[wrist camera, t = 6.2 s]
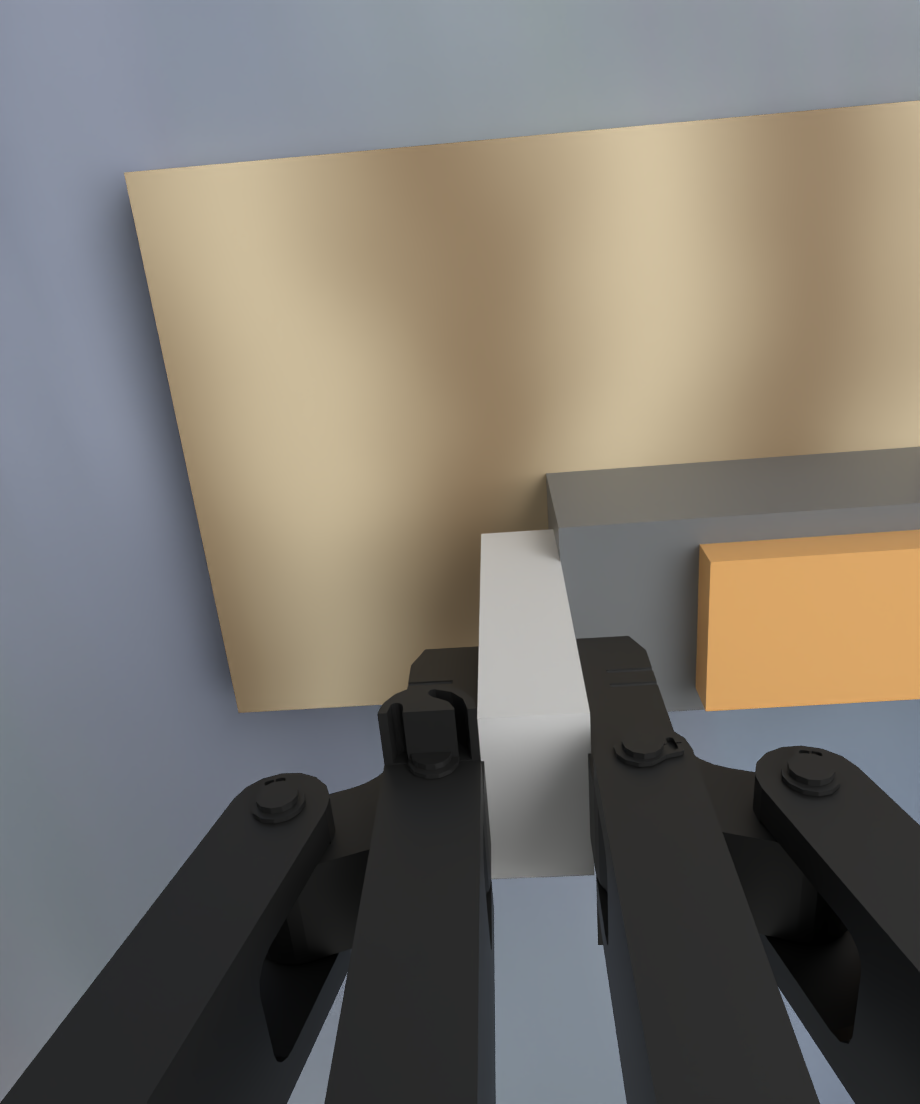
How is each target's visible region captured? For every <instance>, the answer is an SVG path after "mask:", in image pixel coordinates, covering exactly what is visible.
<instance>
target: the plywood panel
mask: <svg viewBox="0 0 920 1104" xmlns="http://www.w3.org/2000/svg"><path fill="white" fill-rule="evenodd" d="M124 175H125V180H126V184H127V189H128V194H129V198H130V203H131V208H132V213H133V217H134V222H135V227H136V231H137V236H138V241H139V246H140V250H141V255H142V260H143V264H144V269H145V274H146V279H147V283H148V288H149V293H150V297H151V302H152V307H153V312H154V316H155V321H156V326H157V330H158V335H159V340H160V344H161V349H162V354H163V359H164V363H165V368H166V373H167V377H168V382H169V387H170V392H171V396H172V401H173V406H174V410H175V415H176V420H177V425H178V429H179V434H180V439H181V443H182V448H183V453H184V458H185V462H186V467H187V472H188V476H189V481H190V486H191V490H192V495H193V500H194V505H195V509H196V514H197V519H198V523H199V528H200V533H201V538H202V542H203V547H204V552H205V556H206V561H207V566H208V571H209V575H210V580H211V585H212V589H213V594H214V599H215V604H216V608H217V613H218V618H219V622H220V627H221V632H222V636H223V641H224V646H225V651H226V655H227V660H228V665H229V669H230V674H231V679H232V684H233V688H234V693H235V698H236V702H237V707H238V712H239V713H244V712H262V711H279V710H296V709H314V708H331V707H348V706H366V705H383V703H384V702H385V701H387V700H388V699H389V698H391V697H392V696H393V695H395V694H396V693H399V692H401V691H404V690H407V687H408V680H409V674H410V668H411V665H412V664H413V662H414V661H415V660H416V659H417V658H418V657H419V656H420V655H421V654H422V652H423V651H424V650H425V649H440V648H458V647H475V646H479V614H480V568H481V534H486V533H502V532H517V531H533V530H549V529H548V506H547V484H546V473H558V472H572V471H586V470H600V469H614V468H628V467H642V466H656V465H670V464H684V463H698V462H712V461H726V460H740V459H754V458H768V457H781V456H795V455H809V454H823V453H837V452H851V451H865V450H879V449H893V448H907V447H920V101H909V102H898V103H887V104H875V105H864V106H853V107H842V108H831V109H820V110H809V111H798V112H787V113H776V114H765V115H754V116H743V117H732V118H721V119H710V120H699V121H688V122H677V123H666V124H655V125H644V126H633V127H622V128H611V129H600V130H589V131H578V132H567V133H556V134H545V135H534V136H523V137H512V138H501V139H490V140H479V141H468V142H457V143H446V144H435V145H424V146H413V147H402V148H391V149H380V150H369V151H358V152H347V153H336V154H325V155H314V156H303V157H292V158H281V159H270V160H259V161H248V162H237V163H225V164H214V165H203V166H192V167H181V168H170V169H159V170H148V171H137V172H126V173H124Z"/></svg>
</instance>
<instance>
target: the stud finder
mask: <svg viewBox="0 0 920 1104" xmlns="http://www.w3.org/2000/svg"><path fill="white" fill-rule="evenodd" d="M546 484H547V506H548V529H553V531H554V536H555V540H556V545H557V549H558V554H559V559H560V561H561V566H562V571H563V576H564V582H565V587H566V592H567V597H568V602H569V607H570V612H571V618H572V623H573V628H574V633H575V638H576V639H580V638H598V637H615V636H630V637H631V638H632V639H633V640H634V641H636V642H637V643H638V644H639V645H641V646H642V647H643V648H644V649H645V650H646V651H647V654H648V657H649V660H650V663H651V666H652V671H653V672H654V675H655V678H656V681H657V685H658V686H659V689H660V692H661V695H662V698H663V701H664V704H665V707H666V710H667V712H669V711H687V710H704V709H705V711H718V710H736V709H753V708H771V707H788V706H806V705H823V704H841V703H858V702H876V701H893V700H911V699H920V447H907V448H893V449H879V450H865V451H851V452H837V453H823V454H809V455H795V456H781V457H768V458H754V459H740V460H726V461H712V462H698V463H684V464H670V465H656V466H642V467H628V468H614V469H600V470H586V471H572V472H558V473H546Z"/></svg>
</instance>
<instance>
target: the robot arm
mask: <svg viewBox="0 0 920 1104" xmlns="http://www.w3.org/2000/svg"><path fill="white" fill-rule="evenodd" d="M378 721H379V728H380V735H381V742H382V750H383V757H384V764H385V765H384V771H383V773H382V774H380V775H379V776H378V777H376V778H374V779H373V780H371V781H369V782H367V783H365V784H362V785H360V786H357V787H354V788H351V789H347V790H344V791H340V792H336V793H332V794H329V793H328V790H327V786H326V785H325V784H324V783H322V782H321V781H320V780H319V779H317V778H316V777H313V776H309V775H306V774H302V773H284V774H279V775H275V776H271V777H267V778H263V779H261V780H259V781H258V782H256V783H254V784H252V785H250V786H248V787H246V788H245V789H244V790H243V791H242V792H241V793H240V794H239V795H238V796H236V797H235V798H234V799H233V801H232V802H231V803H230V805H229V806H228V807H227V808H226V810H225V811H224V812H223V814H222V815H221V816H220V818H219V819H218V820H217V822H216V823H215V824H214V825H213V827H212V828H211V829H210V831H209V832H208V833H207V835H206V836H205V837H204V838H203V840H202V841H201V842H200V844H199V845H198V846H197V848H196V849H195V850H194V851H193V853H192V854H191V855H190V857H189V858H188V859H187V861H186V862H185V863H184V864H183V866H182V867H181V868H180V870H179V871H178V872H177V874H176V875H175V876H174V877H173V879H172V880H171V881H170V883H169V884H168V885H167V887H166V888H165V889H164V890H163V892H162V893H161V894H160V896H159V897H158V898H157V900H156V901H155V902H154V903H153V905H152V906H151V907H150V909H149V910H148V911H147V913H146V914H145V915H144V917H143V918H142V919H141V920H140V922H139V923H138V924H137V926H136V927H135V928H134V930H133V931H132V932H131V933H130V935H129V936H128V937H127V939H126V940H125V941H124V943H123V944H122V945H121V946H120V948H119V949H118V950H117V952H116V953H115V954H114V956H113V957H112V958H111V959H110V961H109V962H108V963H107V965H106V966H105V967H104V969H103V970H102V971H101V972H100V974H99V975H98V976H97V978H96V979H95V980H94V982H93V983H92V984H91V985H90V987H89V988H88V989H87V991H86V992H85V993H84V995H83V996H82V997H81V998H80V1000H79V1001H78V1002H77V1004H76V1005H75V1006H74V1008H73V1009H72V1010H71V1012H70V1013H69V1014H68V1015H67V1017H66V1018H65V1019H64V1021H63V1022H62V1023H61V1025H60V1026H59V1027H58V1028H57V1030H56V1031H55V1032H54V1034H53V1035H52V1036H51V1038H50V1039H49V1040H48V1041H47V1043H46V1044H45V1045H44V1047H43V1048H42V1049H41V1051H40V1052H39V1053H38V1054H37V1056H36V1057H35V1058H34V1060H33V1061H32V1062H31V1064H30V1065H29V1066H28V1067H27V1069H26V1070H25V1071H24V1073H23V1074H22V1075H21V1077H20V1078H19V1079H18V1080H17V1082H16V1083H15V1084H14V1086H13V1087H12V1088H11V1090H10V1091H9V1092H8V1093H7V1095H6V1096H5V1097H4V1099H3V1100H2V1101H1V1103H0V1104H287V1102H288V1100H289V1098H290V1096H291V1093H292V1091H293V1089H294V1087H295V1085H296V1083H297V1080H298V1078H299V1076H300V1074H301V1072H302V1070H303V1067H304V1065H305V1063H306V1061H307V1059H308V1057H309V1054H310V1052H311V1050H312V1048H313V1046H314V1044H315V1041H316V1039H317V1037H318V1035H319V1033H320V1031H321V1028H322V1026H323V1024H324V1022H325V1020H326V1018H327V1015H328V1013H329V1011H330V1009H331V1007H332V1005H333V1002H334V1000H335V998H336V996H337V994H338V992H339V989H340V987H341V985H342V983H343V981H344V979H345V976H346V974H347V972H348V974H347V980H346V985H345V991H344V997H343V1002H342V1008H341V1013H340V1019H339V1025H338V1030H337V1036H336V1042H335V1047H334V1053H333V1059H332V1064H331V1070H330V1075H329V1081H328V1087H327V1092H326V1098H325V1104H496V1091H495V986H494V905H493V893H492V882H491V879H506V878H531V877H558V876H583V875H594V865H595V871H596V882H597V920H598V945H603V946H604V953H605V960H606V967H607V973H608V980H609V987H610V993H611V1000H612V1007H613V1014H614V1020H615V1027H616V1034H617V1040H618V1047H619V1054H620V1061H621V1067H622V1074H623V1081H624V1088H625V1094H626V1101H627V1104H820V1103H819V1100H818V1097H817V1094H816V1092H815V1089H814V1086H813V1083H812V1080H811V1078H810V1075H809V1072H808V1069H807V1066H806V1064H805V1061H804V1058H803V1055H802V1053H801V1050H800V1047H799V1044H798V1041H797V1039H796V1036H795V1033H794V1030H793V1028H792V1025H791V1022H790V1019H789V1016H788V1014H787V1011H786V1008H785V1005H784V1002H783V1000H782V997H781V994H780V991H779V989H780V990H781V992H782V993H783V995H784V996H785V998H786V999H787V1001H788V1002H789V1004H790V1005H791V1007H792V1008H793V1010H794V1011H795V1013H796V1014H797V1016H798V1017H799V1019H800V1020H801V1022H802V1023H803V1025H804V1027H805V1028H806V1030H807V1031H808V1033H809V1034H810V1036H811V1037H812V1039H813V1040H814V1042H815V1043H816V1045H817V1046H818V1048H819V1049H820V1051H821V1052H822V1054H823V1055H824V1057H825V1058H826V1060H827V1061H828V1063H829V1064H830V1066H831V1068H832V1069H833V1071H834V1072H835V1074H836V1075H837V1077H838V1078H839V1080H840V1081H841V1083H842V1084H843V1086H844V1087H845V1089H846V1090H847V1092H848V1093H849V1095H850V1096H851V1098H852V1099H853V1101H854V1102H855V1104H920V825H919V824H918V823H917V822H916V821H914V820H913V819H912V818H911V817H910V816H909V815H908V814H907V813H906V812H905V811H904V810H903V809H902V808H901V807H900V806H899V805H898V804H896V803H895V802H894V801H893V800H892V799H891V798H890V797H889V796H888V795H887V794H886V793H885V792H884V791H883V790H882V789H881V788H880V787H878V786H877V785H876V784H875V783H874V782H873V781H872V780H871V779H870V778H869V777H868V776H867V775H866V774H865V773H864V772H863V771H862V770H860V769H859V768H858V767H857V766H856V765H854V764H853V763H851V762H850V761H848V760H847V759H845V758H844V757H842V756H840V755H837V754H835V753H832V752H829V751H827V750H824V749H820V748H813V747H806V746H791V747H781V748H778V749H776V750H773V751H770V752H767V753H766V754H765V755H764V756H763V757H762V758H761V759H760V760H759V761H758V762H757V764H756V771H755V772H750V771H744V770H737V769H731V768H726V767H722V766H718V765H714V764H711V763H709V762H706V761H704V760H701V759H699V758H697V757H696V756H695V755H694V752H693V749H692V748H691V746H690V745H689V744H688V742H687V741H686V739H685V738H684V737H682V736H680V735H679V734H677V733H676V732H674V730H673V727H672V724H671V722H670V719H669V716H668V713H667V710H666V707H665V704H664V701H663V698H662V695H661V692H660V689H659V686H658V685H657V681H656V678H655V675H654V672H653V671H652V666H651V663H650V660H649V657H648V654H647V651H646V650H645V649H644V648H643V647H642V646H641V645H639V644H638V643H637V642H636V641H634V640H633V639H632V638H631V637H630V636H615V637H598V638H580V639H576V638H575V633H574V628H573V623H572V618H571V612H570V607H569V602H568V597H567V592H566V587H565V582H564V576H563V571H562V566H561V561H560V559H559V554H558V549H557V545H556V540H555V536H554V531H553V529H549V530H533V531H517V532H502V533H486V534H481V568H480V614H479V646H475V647H458V648H440V649H425V650H424V651H423V652H422V654H421V655H420V656H419V657H418V658H417V659H416V660H415V661H414V662H413V664H412V665H411V668H410V674H409V680H408V687H407V690H404V691H401V692H399V693H396V694H395V695H393V696H392V697H391V698H389V699H388V700H387V701H385V702H384V703H383V705H382V706H381V708H380V710H379V712H378ZM778 987H779V989H778Z"/></svg>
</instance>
